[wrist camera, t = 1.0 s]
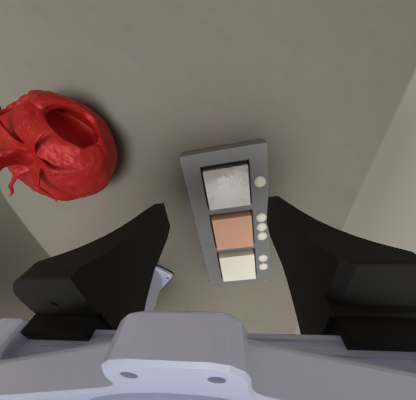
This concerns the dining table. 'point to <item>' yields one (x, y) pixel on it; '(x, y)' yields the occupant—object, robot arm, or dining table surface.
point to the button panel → (259, 193)
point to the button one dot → (227, 185)
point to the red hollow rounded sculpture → (56, 146)
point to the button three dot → (233, 230)
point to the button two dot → (237, 265)
